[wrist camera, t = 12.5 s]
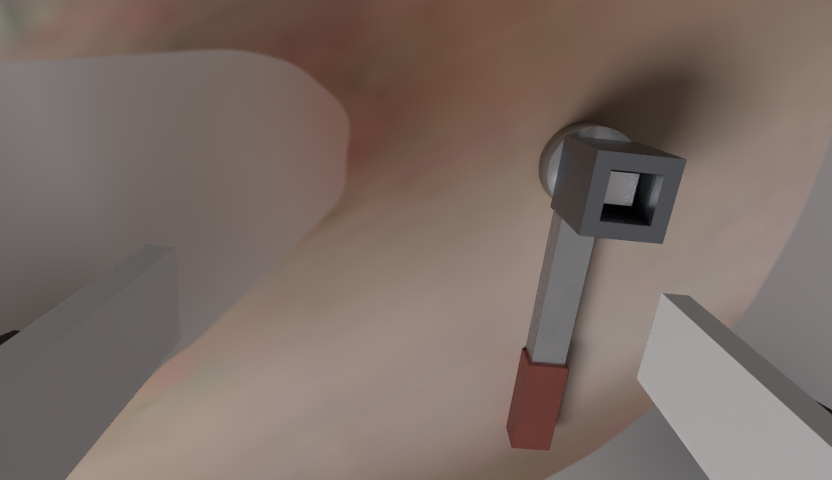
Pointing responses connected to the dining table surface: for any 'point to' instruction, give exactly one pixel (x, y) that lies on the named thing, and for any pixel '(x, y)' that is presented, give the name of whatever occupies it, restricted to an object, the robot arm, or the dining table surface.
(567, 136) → the socket
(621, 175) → the ratchet
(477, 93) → the dining table surface
